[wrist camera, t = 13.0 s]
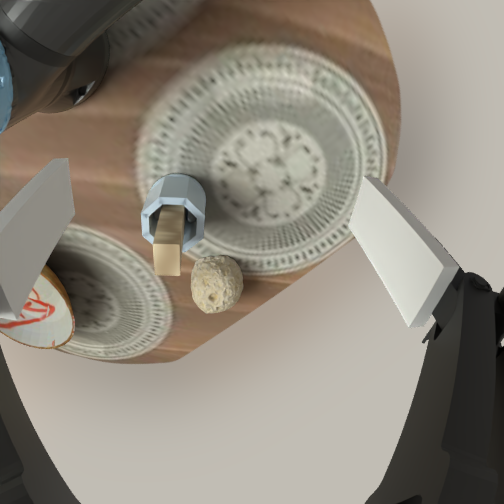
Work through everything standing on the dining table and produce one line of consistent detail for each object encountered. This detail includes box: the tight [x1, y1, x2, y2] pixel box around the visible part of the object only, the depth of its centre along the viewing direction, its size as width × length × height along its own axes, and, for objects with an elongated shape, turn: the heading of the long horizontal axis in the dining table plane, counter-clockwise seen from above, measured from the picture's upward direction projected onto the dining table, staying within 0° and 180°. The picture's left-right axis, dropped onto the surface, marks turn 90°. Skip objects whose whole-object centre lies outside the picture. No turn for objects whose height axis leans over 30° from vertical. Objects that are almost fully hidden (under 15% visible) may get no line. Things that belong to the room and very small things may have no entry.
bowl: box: [0, 264, 75, 349], centre depth 50 cm, size 25×25×8 cm
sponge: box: [191, 255, 243, 314], centre depth 55 cm, size 9×10×10 cm
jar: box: [141, 173, 206, 252], centre depth 45 cm, size 9×9×8 cm
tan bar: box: [153, 204, 186, 276], centre depth 42 cm, size 3×4×14 cm, turn 173°
